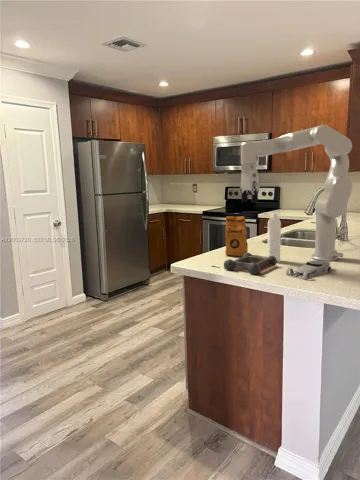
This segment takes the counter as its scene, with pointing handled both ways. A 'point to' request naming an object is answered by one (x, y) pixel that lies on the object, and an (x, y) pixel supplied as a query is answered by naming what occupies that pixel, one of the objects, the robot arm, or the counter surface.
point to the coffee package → (236, 236)
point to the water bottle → (274, 236)
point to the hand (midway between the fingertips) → (249, 202)
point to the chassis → (251, 264)
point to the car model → (310, 270)
